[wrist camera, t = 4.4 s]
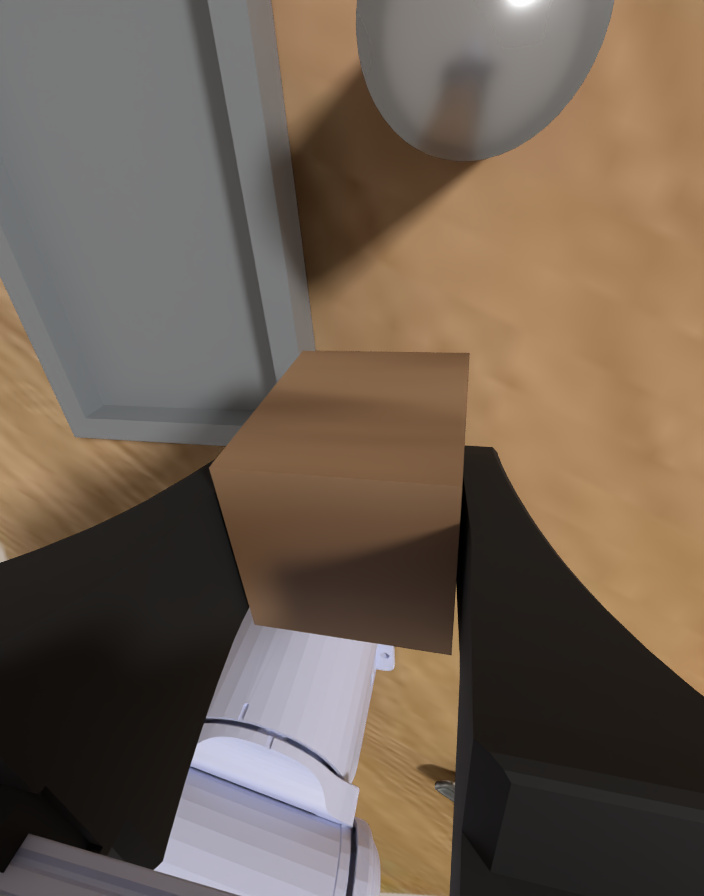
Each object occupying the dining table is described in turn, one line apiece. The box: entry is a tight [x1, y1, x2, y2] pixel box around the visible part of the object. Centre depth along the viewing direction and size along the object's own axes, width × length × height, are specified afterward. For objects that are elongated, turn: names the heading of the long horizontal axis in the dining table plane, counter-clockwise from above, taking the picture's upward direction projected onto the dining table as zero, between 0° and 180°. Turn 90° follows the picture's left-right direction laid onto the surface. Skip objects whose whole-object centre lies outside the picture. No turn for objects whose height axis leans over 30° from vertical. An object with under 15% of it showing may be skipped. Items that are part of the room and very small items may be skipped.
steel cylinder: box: [356, 0, 614, 161], centre depth 10 cm, size 4×4×6 cm
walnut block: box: [209, 351, 470, 655], centre depth 10 cm, size 4×4×5 cm
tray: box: [0, 0, 316, 446], centre depth 16 cm, size 17×11×2 cm, turn 5°
